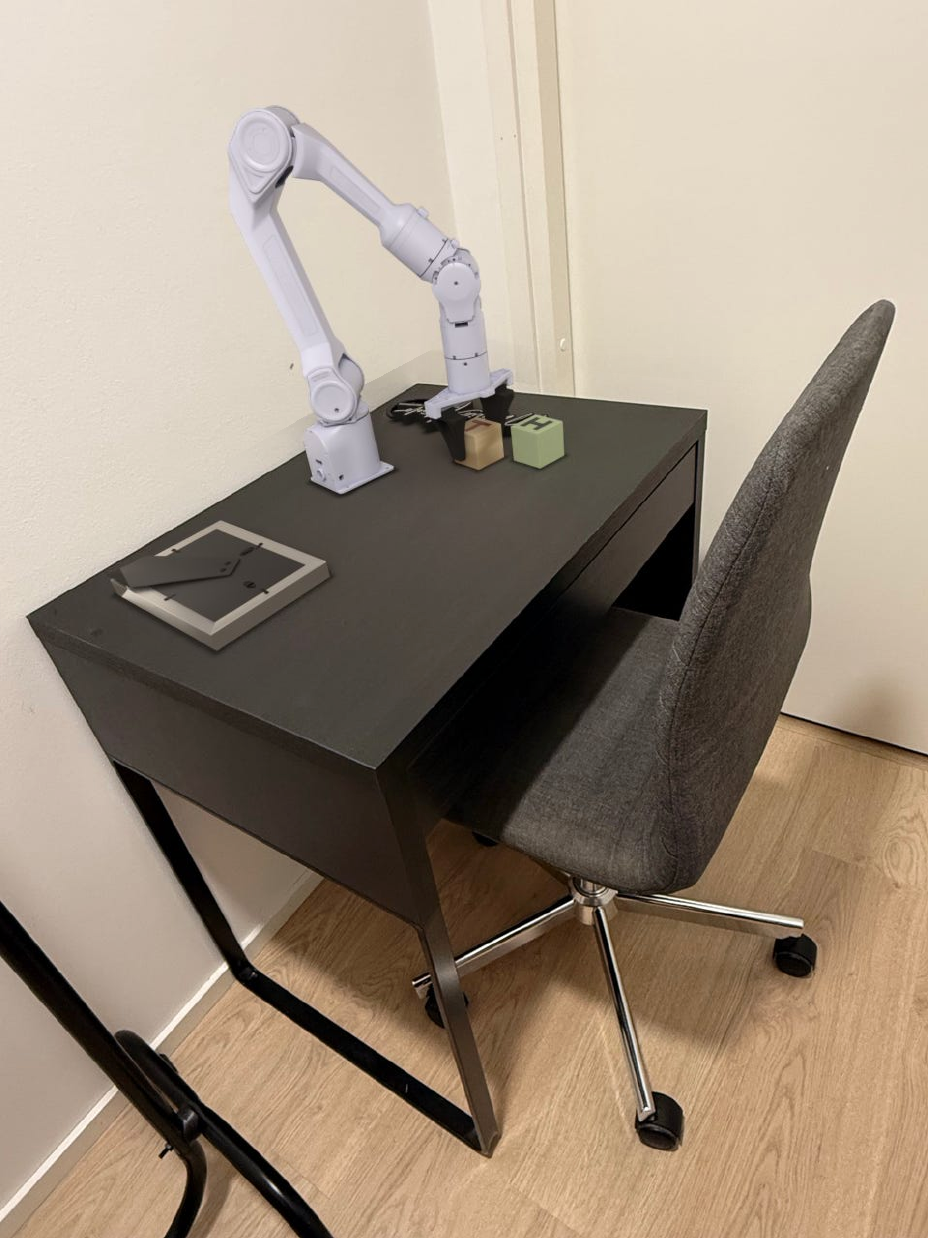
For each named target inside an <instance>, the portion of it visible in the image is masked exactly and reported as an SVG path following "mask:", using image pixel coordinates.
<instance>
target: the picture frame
mask: <svg viewBox="0 0 928 1238" xmlns="http://www.w3.org/2000/svg"><path fill="white" fill-rule="evenodd" d="M327 564H328V563H327V561H326V560H323V559H320V558H318V557H315V556H312V555H311V554H307V553H305V552H303V551H300V550H297V549H295V548H293V547H290V546H288V545H285V544H282V543H279V542H277V541H275V540H272V539H270V538H267V537H265V536H262V535H259V534H257V533H254V532H252V531H250V530H246V529H244V528H241V527H238V526H237V525H233V524H231V523H229V522H226V521H223V520H218V521H216V522H215V523H213V524H211V525H209V526H207V527H205V528H203V529H201V530H200V531H197V532H196V533H195V534H194V533H193V534H192V535H191V536H189V537H187V538H185V539H183V540H181V541H179V542H178V543H176V544H174V545H171V546H170V547H168V548H166V549H164V550H163V551H161V552H159V553H157V554H155V555H144V556H142V557H140V558H138V559H136V560H134V561H132V562H130V563H128V564H126V565H124V566H122V567H120V568H118V569H116V570H114V571H111V572H109V573H107V577H110V578H111V579H110V583H111V584H112V587H113V589H114V591H115V593H116V595H118V596H119V597H121V598H123V599H125V600H127V601H128V602H130V603H132V604H134V605H135V606H137V607H139V608H141V609H142V610H144V611H146V612H147V613H150V614H151V615H153V616H154V617H156V618H158V619H160V620H161V621H163V622H165V623H167V624H169V625H171V626H172V627H174V628H176V629H177V630H179V631H181V632H183V633H184V634H186V635H187V636H189V637H192V638H193V639H195V640H197V641H198V642H200V643H202V644H204V645H206V646H207V647H209V648H211V649H213V650H215V651H216V652H218V651H219V650H221V649H222V648H224V647H226V646H227V645H229V644H230V643H232V642H233V641H235V640H236V639H238V638H239V637H241V636H242V635H244V634H245V633H247V632H249V631H250V630H251V629H252V628H254V627H256V626H258V625H259V624H260V623H262V622H264V621H265V620H266V619H268V618H270V617H272V615H274V614H276V613H277V612H279V611H280V610H282V609H283V608H284V607H287V606H288V605H290V604H291V603H293V602H294V601H296V600H297V599H299V598H301V596H303V595H305V594H306V593H308V592H310V591H311V590H312V589H314V588H315V587H316V586H318V585H320V584H321V583H323V582H324V581H325V580H327V579H329V578H330V577H331V575H330V571H329V568H328V565H327Z"/></svg>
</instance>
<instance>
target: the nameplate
mask: <svg viewBox="0 0 928 1238" xmlns="http://www.w3.org/2000/svg"><path fill="white" fill-rule="evenodd" d="M396 406H397V409H394V410H392V411H391V413H392V420H393V421H394V422H403V423H404V425H405V426H407V425H410V424H413V423H416V422H417V423H420V424H422V425H423V427H424V428H425V432H426V433H432V432H435V431H439V430H438V428H437V427H436V426H435V424H434V423H433V422H432V421H431V419H430V418H429V417H427V416H426V410H425V404H424V403H421V402H405V401H402V402H398V403H397V404H396ZM474 407H475V406H474V400H472V401H470V402H467V403H465V404H463V405H461V406H459V407H456V408H455V410H456V411H458V414H460V415H464V416H466V417H467V418H466V421H469V420H471V419H473V418H475V417H478V418H482V419H485V415H484V411H483V408H482V409H481V408H474ZM510 413H511V412H510V411H508V413H507V417H506V421H505V426H504V432H503V436H505V437H512V434H511V426H513V425H515V424H517V423H519V422H521V421H523V420H525V419H527V418H529V417H531V416H533V415H535V412H527V413H525V414H521V415H519V416H517V415H516V414H510ZM539 415H540V416H544V417H548V418H550V417H549V414H546V413H544V414H543V413H542V414H539Z"/></svg>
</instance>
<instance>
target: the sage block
mask: <svg viewBox="0 0 928 1238" xmlns="http://www.w3.org/2000/svg"><path fill="white" fill-rule="evenodd" d="M540 415H541V414H535V413H534V415H533V416H531V417H529V418H527V419H525V420H523V421H521V422H519V423H517V424H515V425H513V426H511V434H512V436H511V442H512V454H513V461H515V462H518V463H521V464H524V465H527V466H530V467H534V468H537V469H542V468H544V467H546V466H548V465H550V464H551V463H553V462H555V461H557V460H559V459H560V458H563V457H565V442H564V423H563V421H562V420H559V419H555V418H551V417H549V418H548V417H544V416H540Z"/></svg>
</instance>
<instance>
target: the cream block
mask: <svg viewBox="0 0 928 1238" xmlns="http://www.w3.org/2000/svg"><path fill="white" fill-rule="evenodd" d="M464 441H465V450H466V458H465V460H464V461H462V462H461V461H458V460H455V459H454V462H455V463H457V464H460V465H462V466H466V467H468V468H472V469H474V470H477V471H480V470H482V469H484V468H485V467H488V466H490V465H492V464H494V463H495V462H498V461H499V460H501V459H503V458H505V453H504V444H503V439H502V432H501V424H500V423H496V422H493V421H489V420H486V419H482V418H478V417H475V418H473V419H471V420H469V421H466V423H465V432H464Z"/></svg>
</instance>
